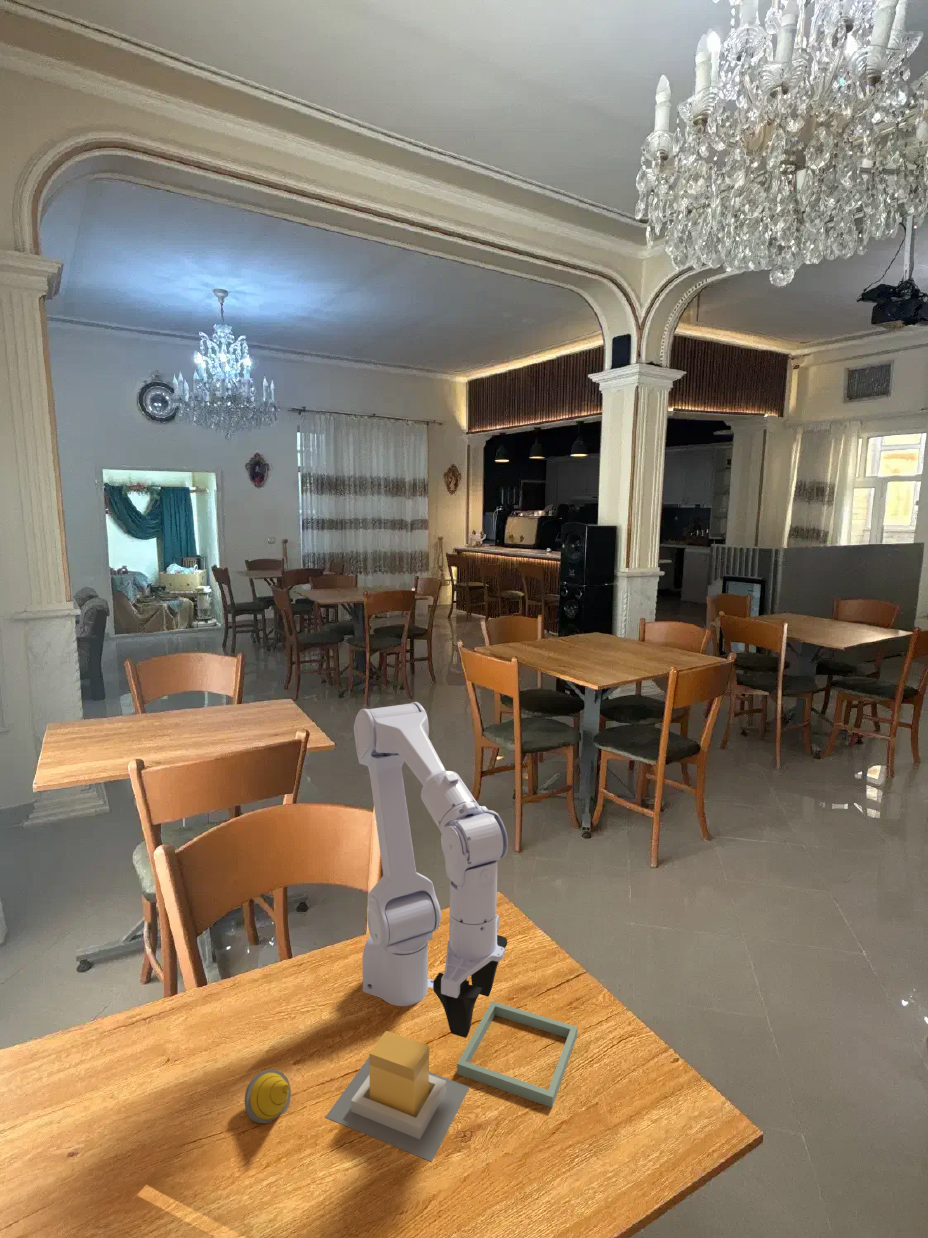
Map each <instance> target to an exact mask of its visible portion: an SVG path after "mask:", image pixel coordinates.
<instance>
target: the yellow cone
mask: <svg viewBox="0 0 928 1238" xmlns="http://www.w3.org/2000/svg"><path fill="white" fill-rule="evenodd" d="M247 1085H248V1086H247V1088H246V1090H245V1094H244V1108H245V1112H246V1114H247V1116H248V1117H249V1118H250V1120H252V1121H253V1123H257V1124H264V1125H265V1124H271V1122H273V1121H274V1120H276V1119H277V1118H279V1117H281V1116H282V1115H283V1114H285V1113H286V1112H287V1109H288V1108H289V1105H290V1103H291V1098H292V1097H291V1096H292V1090H291V1089H292V1088H291V1085H290V1081H289V1079H288V1078H287V1077H286V1075H285V1074H284V1073H283V1072H282V1071H280V1070H278V1069H274V1068H272V1069H271V1068H269V1069H266V1070H263V1071H261V1072H260V1073H258V1074H256V1075H254V1077H253V1078H252V1079H251V1080H250V1082H249V1083H248V1084H247Z"/></svg>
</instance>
